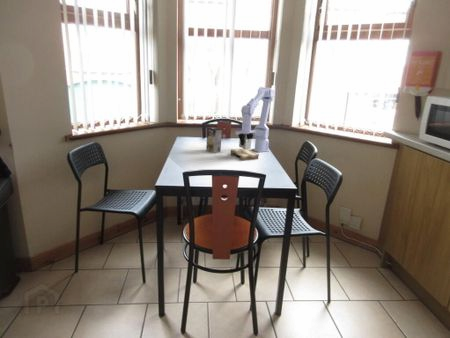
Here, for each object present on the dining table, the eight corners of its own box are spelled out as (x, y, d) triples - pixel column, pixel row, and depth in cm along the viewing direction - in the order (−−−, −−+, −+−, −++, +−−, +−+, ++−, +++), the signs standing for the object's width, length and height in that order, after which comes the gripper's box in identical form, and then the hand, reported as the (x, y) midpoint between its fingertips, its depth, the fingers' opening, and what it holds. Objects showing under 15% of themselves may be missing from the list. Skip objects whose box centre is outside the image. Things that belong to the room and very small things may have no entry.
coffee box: (205, 150, 218) (206, 127, 213) (212, 149, 222) (213, 126, 217) (214, 153, 211) (215, 129, 206) (221, 152, 215) (222, 129, 210)
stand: (245, 152, 217) (245, 148, 216) (258, 158, 204) (258, 154, 203) (230, 153, 212) (230, 149, 211) (242, 160, 198) (242, 155, 197)
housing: (244, 146, 210) (244, 136, 208) (250, 149, 204) (251, 139, 202) (239, 146, 208) (239, 136, 206) (245, 149, 202) (246, 139, 200)
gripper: (252, 122, 208) (251, 142, 212) (233, 123, 201) (232, 144, 205) (258, 124, 202) (256, 145, 206) (239, 125, 195) (237, 146, 199)
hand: (245, 144), depth 205 cm, fingers closed on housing, 4 cm apart
